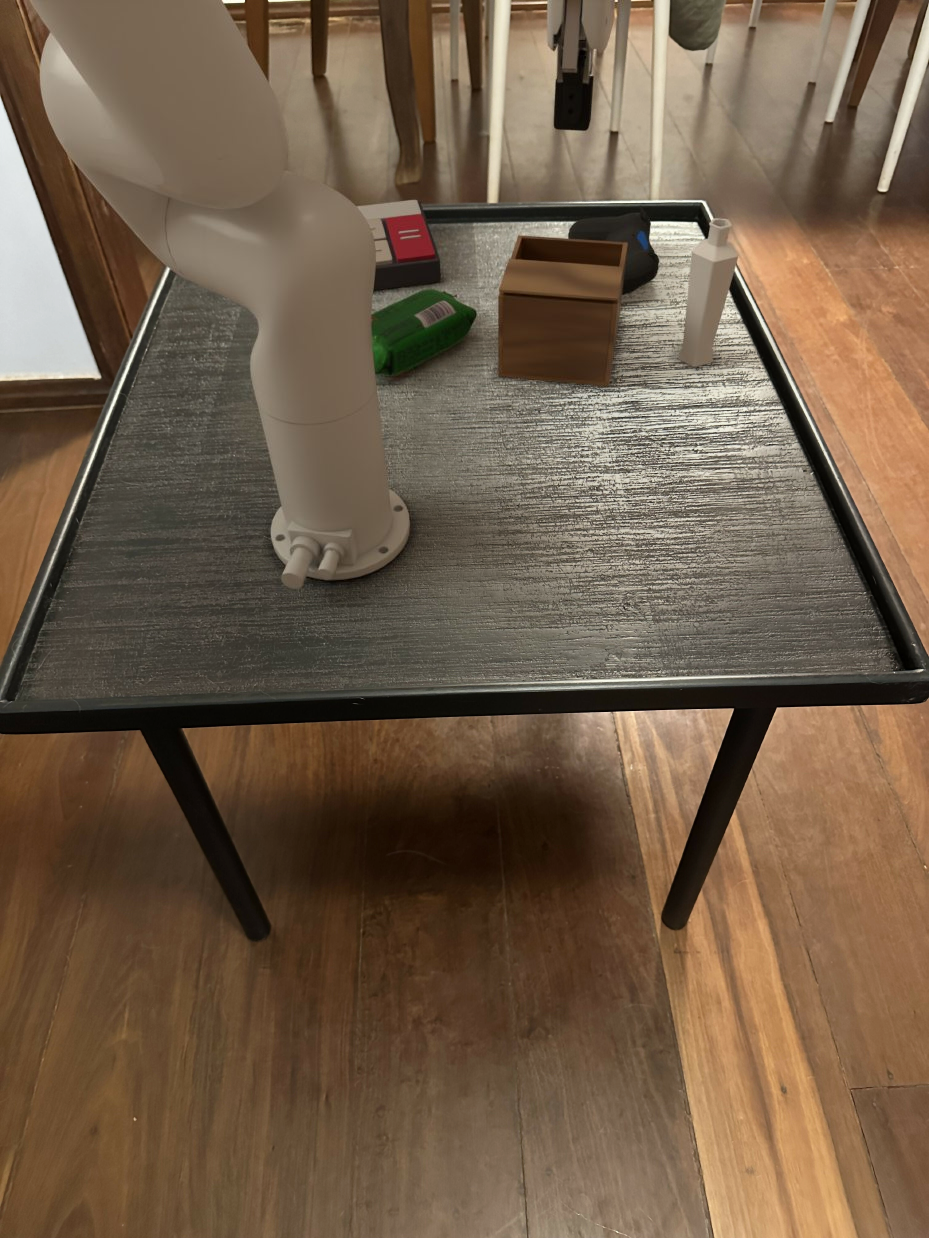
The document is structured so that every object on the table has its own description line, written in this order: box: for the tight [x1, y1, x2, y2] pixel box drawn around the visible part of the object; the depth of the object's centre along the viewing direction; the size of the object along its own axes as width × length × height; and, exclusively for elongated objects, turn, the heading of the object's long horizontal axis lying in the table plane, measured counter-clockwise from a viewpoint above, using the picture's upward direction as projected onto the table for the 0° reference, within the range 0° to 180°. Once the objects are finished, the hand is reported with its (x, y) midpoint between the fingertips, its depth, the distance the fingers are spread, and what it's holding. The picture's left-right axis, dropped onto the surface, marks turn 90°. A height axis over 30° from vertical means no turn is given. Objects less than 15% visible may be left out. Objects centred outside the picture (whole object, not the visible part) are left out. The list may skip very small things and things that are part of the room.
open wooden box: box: [497, 234, 628, 387], centre depth 99 cm, size 13×12×10 cm
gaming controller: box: [567, 205, 660, 296], centre depth 111 cm, size 17×6×10 cm
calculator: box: [356, 199, 442, 291], centre depth 116 cm, size 11×4×15 cm
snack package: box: [371, 288, 478, 377], centre depth 101 cm, size 7×16×5 cm, turn 131°
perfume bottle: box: [676, 217, 740, 368], centre depth 95 cm, size 5×4×15 cm
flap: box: [498, 258, 623, 301], centre depth 93 cm, size 6×12×1 cm, turn 79°
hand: (572, 126), depth 83 cm, fingers closed
